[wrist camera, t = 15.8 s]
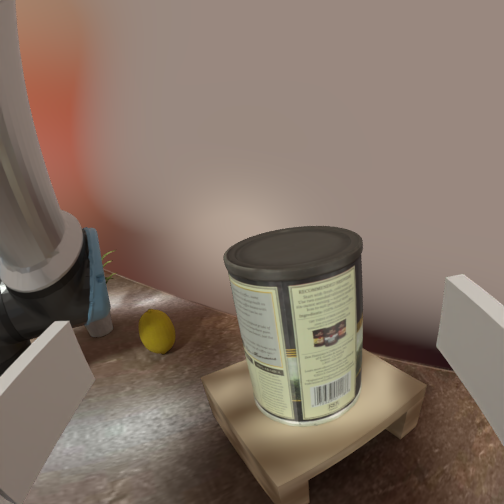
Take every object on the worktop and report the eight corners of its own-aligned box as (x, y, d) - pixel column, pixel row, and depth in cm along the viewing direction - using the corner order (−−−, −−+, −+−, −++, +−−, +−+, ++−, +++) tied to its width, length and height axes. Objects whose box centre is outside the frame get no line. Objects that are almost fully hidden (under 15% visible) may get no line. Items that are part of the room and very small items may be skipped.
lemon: (177, 362, 44) (162, 316, 42) (143, 364, 45) (127, 319, 42) (183, 342, 50) (171, 299, 47) (152, 345, 50) (139, 302, 48)
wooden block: (213, 414, 33) (200, 377, 31) (325, 362, 39) (323, 325, 38) (284, 516, 19) (277, 486, 17) (416, 425, 26) (426, 385, 24)
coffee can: (299, 345, 34) (285, 222, 30) (380, 374, 27) (385, 230, 23) (229, 395, 28) (195, 256, 24) (316, 446, 21) (305, 281, 16)
